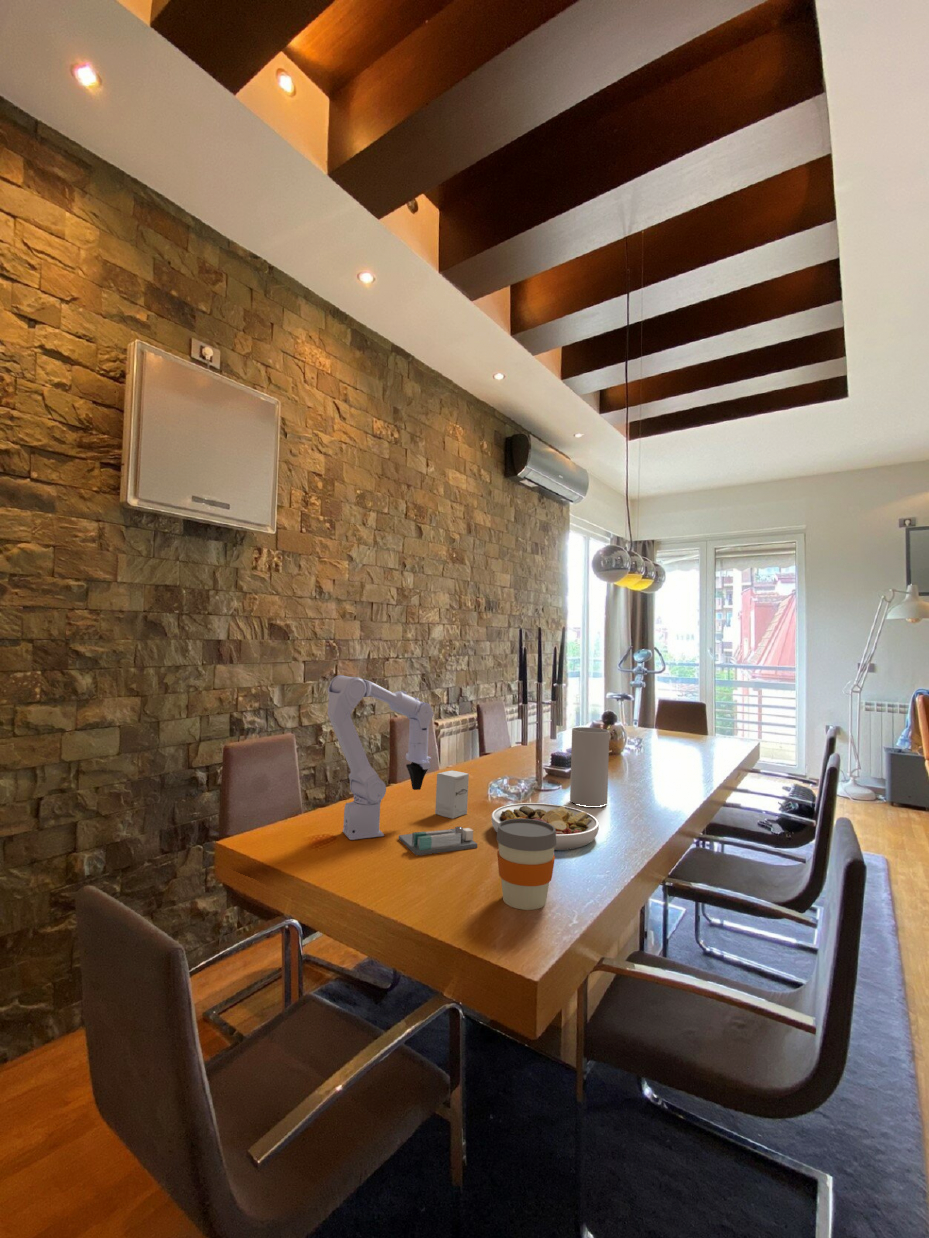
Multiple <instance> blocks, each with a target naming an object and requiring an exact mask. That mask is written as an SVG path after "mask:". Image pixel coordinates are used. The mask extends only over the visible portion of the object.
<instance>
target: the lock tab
mask: <svg viewBox="0 0 929 1238" xmlns="http://www.w3.org/2000/svg"><path fill="white" fill-rule="evenodd" d="M463 839H464V840H466V841H468V840H473V841H474V830H473V829H472V828H471V827H466V828H463Z"/></svg>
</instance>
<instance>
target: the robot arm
mask: <svg viewBox="0 0 929 1238" xmlns="http://www.w3.org/2000/svg"><path fill="white" fill-rule="evenodd" d="M326 691H327V695H328V703H327V704H328V705H327V716H328V719H329V721H330V724H331V727H332V728H333V731H334V734H335V736H336V739H337V741H338V743H339V746H340V748H341V751H342V753H343V756H344V758H345V760H346V764H347V765H348V768H349V770H350V773H349V774H348V778H349V789H350V792H351V794H353V801H350V802H346V803H345V805H344V808H343V809H344V812H343V828H342V832H343V834H344V835H345V836H346V838H348V839H349V841H353V840H354V841H355V840H360V839H361V840H363V839H371V838H377V837H379V838H381V837H384V836H385V834H384V833H383V832H382V830H380V823H381V821H380V819H381V803H382V800H383V798H385V795H386V792H387V785H386V784H385V782H384V781H383V780H382V779H381V778H380V776H379V774H378V773H377V772H376V770H375V769H374V768H373V767H372V766H371V764H370V762H369V759H368V756H367V754H366V751H365V749H364V746H363V745H362V744H363V743H362V742H361V739H360V737H359V734H358V731H357V729H356V726H355V724H354V721H353V719H352V717H351V714H352V711H353V710H354V709H355V708H356V707H357V706H358V704H359V703H360V702H361V701H362V699H363V698H368V697H371V698H374V699H377V700H379V701H382V702H384V703H387V704H388V707H389V709H390V710H391V711H394V712H395V713H398V714H400V715H402V716H405V717H407V719H408V720H409V728H408V729H409V730H408V749H407V752H406V753H405V760H406V761H408V762H410V763H407V764H406V766H405V767H406V769H407V771H408V774H409V777H410V784H411V788H412V790H413V791H419V790H421V789H422V786H423V782H424V778H425V776H426V774H427V772H428V771H429V770H430V769H431V762H430V761H431V760H432V757H431V756H429V755H428V753H429V730H430V727H431V720H432V719H433V718H434V717H433V716H434V711H433V709H432V706H431V704H430V703H428V702H424V701H420V698H419V697H416V696H415V697H413V696H411V695H408V691H405V690H401V691H400V690H397V691H395V692H392V691H390V690H388V689H386V688H384V687H382V686H380V685H378V684H376V683H375V682H373V681H370V680H367V679H364V678H362V677H358V676H346V675H343V674H340V675H336V676H334V677H333V678H332V679H331V681H330V683H329V685H328V687H327V688H326Z"/></svg>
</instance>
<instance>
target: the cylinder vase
mask: <svg viewBox="0 0 929 1238" xmlns="http://www.w3.org/2000/svg"><path fill="white" fill-rule="evenodd" d="M609 749H610V730H608V729H605V728H598V727H589V726H588V727H584V726H583V727H582V726H581V727H572V728H571V754H570V755H571V756H570V758H571V759H570V783H569V784H570V786H569V787H570V788H569V790H570V792H569V801H570V802H571V803H572V802H573V803H575V804H580V805H586V806H600V805H604V804H607V805H608V798H609V797H608V794H609V793H608V792H609V791H608V790H609V789H608V788H609V756H610V754H609V753H610V750H609ZM573 803H572V804H573ZM575 804H574V805H575Z"/></svg>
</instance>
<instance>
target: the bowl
mask: <svg viewBox="0 0 929 1238" xmlns="http://www.w3.org/2000/svg"><path fill="white" fill-rule="evenodd" d="M508 819H534V820H539V821H543V822H546V823H549V824H551V825H553V826H554V827H555V829H556V841H557V844H556V846H555V847H554V851H566V850H567V849H568V850H574V849H579V848H581V847H584V846H586V845H588V844H590V843H592V842H593V841H594V839H595V838H596V837H597V835H598V833H599V828H600V822H599V821H598V819H597V818H596V817H595V816H594V815H592V814H590V813H588V812H586V811H583V810H581V809H577V808H573V807H570V806H566V805H560V804H552V803H543V802H542V803H541V802H539V803H538V802H525V803H523V802H522V803H512V804H507V805H503V806H501V807H500V806H499V807H498V808H495V810H493V812H491V825H492V827H493V829H494V831H495V832H496V833H497V831H498V825H499V823H500V822H502V821H504V820H508ZM578 847H579V848H578Z"/></svg>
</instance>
